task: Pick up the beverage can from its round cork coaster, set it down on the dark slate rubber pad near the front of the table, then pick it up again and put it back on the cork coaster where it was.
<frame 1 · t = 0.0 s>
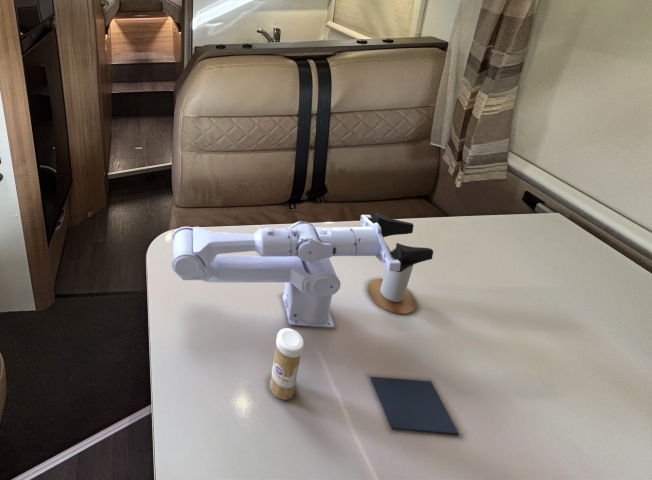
hand: (421, 240, 86), 22 cm above the table, tool horizontal, fingers open, 7 cm apart
cork coaster: (390, 296, 100), on the table
sprinkles bottle: (281, 389, 80), on the table
beverage can: (391, 295, 100), resting on cork coaster
slate pad: (411, 405, 77), on the table
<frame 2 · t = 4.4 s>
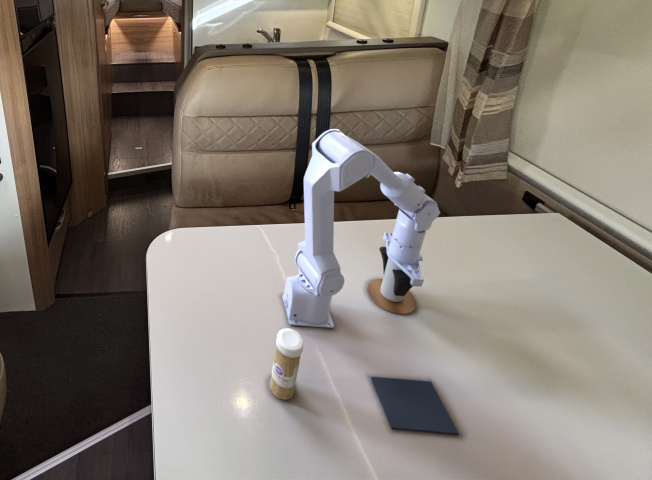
hand: (393, 285, 99), 3 cm above the table, tool pointing down, fingers closed on beverage can, 5 cm apart
beverage can: (390, 295, 100), resting on cork coaster, touching gripper
everything else where it was.
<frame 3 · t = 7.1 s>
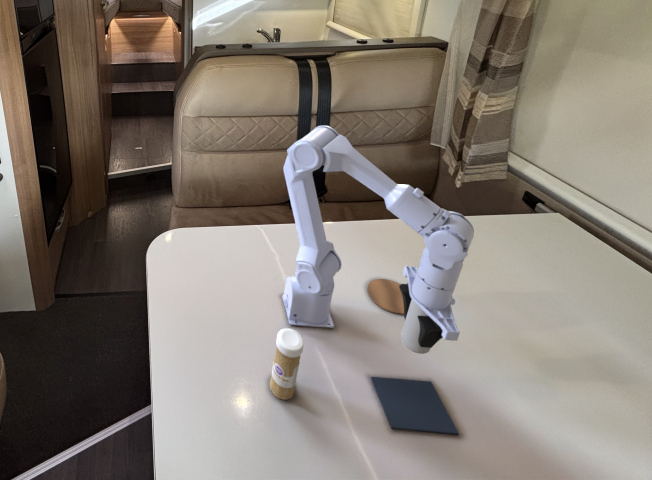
hand: (417, 332, 79), 10 cm above the table, tool pointing down, fingers closed on beverage can, 5 cm apart
beverage can: (414, 344, 81), point 7 cm above the table, touching gripper
everything else where it was.
when the fingers open (3 cm above the table, at t = 9.9 s): beverage can stays where it is, resting on slate pad.
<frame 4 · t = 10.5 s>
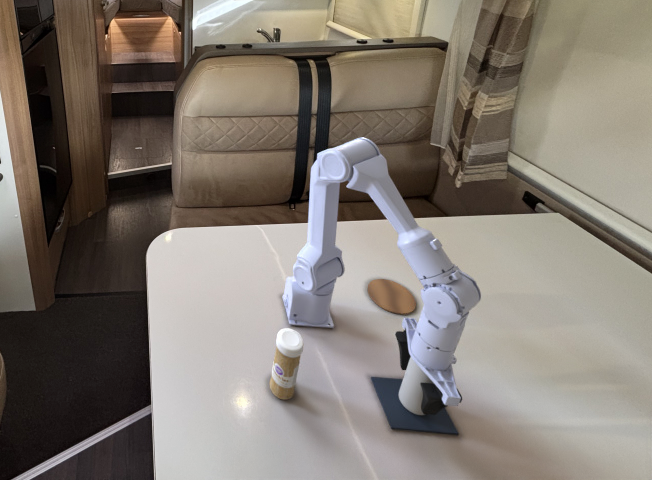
hand: (417, 389, 76), 4 cm above the table, tool pointing down, fingers open, 7 cm apart
beverage can: (412, 403, 77), resting on slate pad
everything else where it was.
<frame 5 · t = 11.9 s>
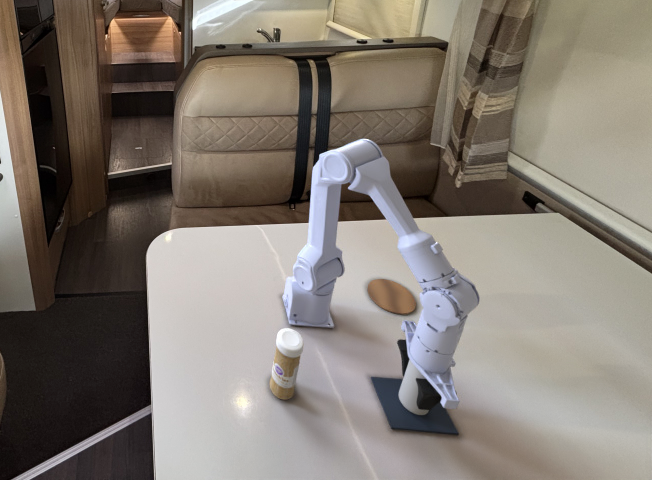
hand: (416, 392, 76), 3 cm above the table, tool pointing down, fingers closed on beverage can, 5 cm apart
beverage can: (412, 403, 77), resting on slate pad, touching gripper
everything else where it was.
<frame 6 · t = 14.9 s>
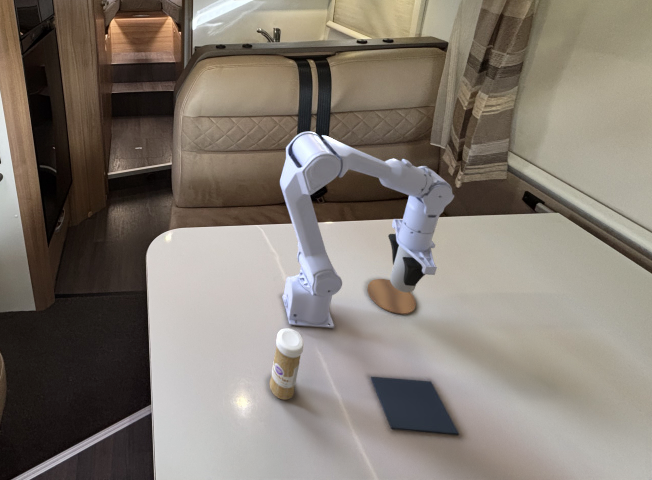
hand: (403, 274, 92), 10 cm above the table, tool pointing down, fingers closed on beverage can, 5 cm apart
beverage can: (401, 285, 94), point 7 cm above the table, touching gripper
everything else where it was.
when the fingers open (3 cm above the table, at t = 17.9 s): beverage can stays where it is, resting on cork coaster.
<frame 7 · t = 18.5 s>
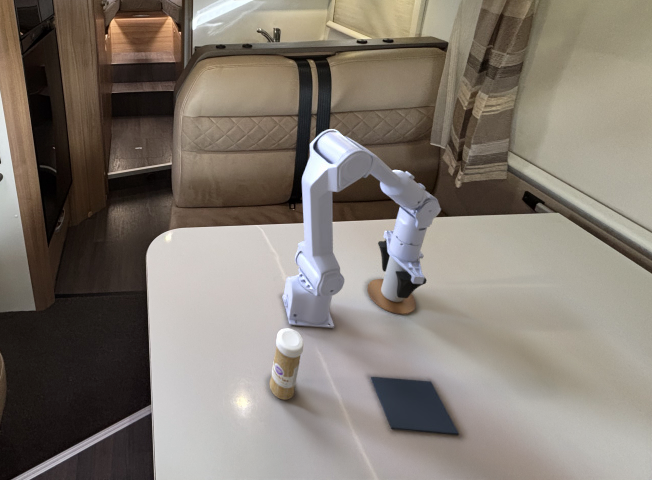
hand: (394, 283, 98), 4 cm above the table, tool pointing down, fingers open, 7 cm apart
beverage can: (391, 295, 100), resting on cork coaster
everything else where it was.
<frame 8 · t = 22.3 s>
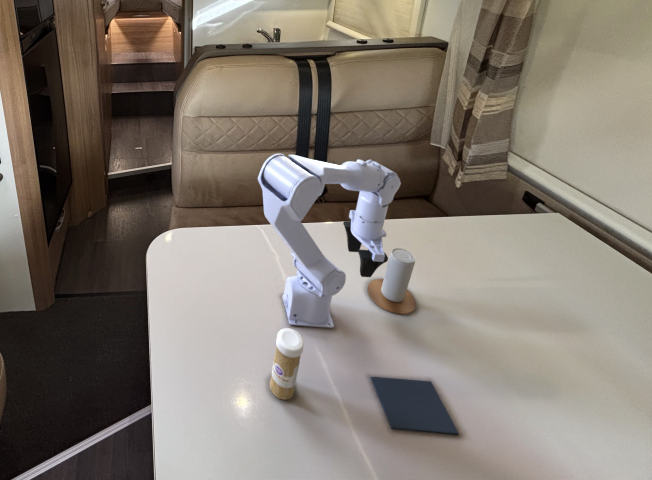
hand: (359, 263, 97), 9 cm above the table, tool pointing down, fingers open, 7 cm apart
nothing on the table moved.
at the end: beverage can 0.2 cm off-centre on the cork coaster, point 0.2 cm above the cork coaster's base; beverage can touching cork coaster; beverage can tilted 0° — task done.
